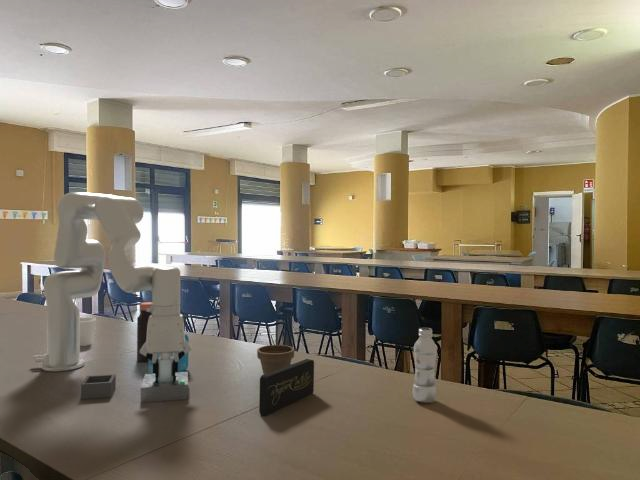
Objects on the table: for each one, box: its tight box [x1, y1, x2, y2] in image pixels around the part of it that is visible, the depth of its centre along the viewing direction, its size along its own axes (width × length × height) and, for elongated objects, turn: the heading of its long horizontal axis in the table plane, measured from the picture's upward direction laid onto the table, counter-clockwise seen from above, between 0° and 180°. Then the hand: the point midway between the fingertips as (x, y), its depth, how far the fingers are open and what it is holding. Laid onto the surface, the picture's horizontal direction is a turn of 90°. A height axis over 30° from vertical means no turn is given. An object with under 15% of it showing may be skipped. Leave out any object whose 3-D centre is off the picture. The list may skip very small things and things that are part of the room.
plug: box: [158, 352, 173, 383], centre depth 133 cm, size 4×4×12 cm
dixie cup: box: [80, 316, 96, 347], centre depth 187 cm, size 8×8×10 cm
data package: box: [148, 334, 190, 374], centre depth 152 cm, size 12×4×12 cm, turn 142°
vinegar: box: [136, 301, 152, 363], centre depth 167 cm, size 7×7×20 cm
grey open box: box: [80, 373, 117, 400], centre depth 132 cm, size 8×8×4 cm
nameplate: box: [258, 358, 315, 417], centre depth 127 cm, size 21×2×10 cm, turn 145°
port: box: [140, 371, 189, 404], centre depth 133 cm, size 12×12×5 cm
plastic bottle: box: [412, 327, 438, 404], centre depth 130 cm, size 6×7×20 cm
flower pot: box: [256, 344, 295, 375], centre depth 145 cm, size 12×11×10 cm
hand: (165, 374), depth 133 cm, fingers closed on plug, 4 cm apart
